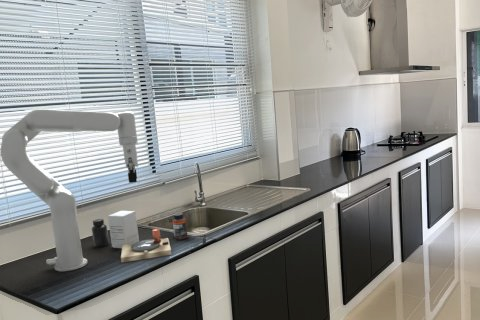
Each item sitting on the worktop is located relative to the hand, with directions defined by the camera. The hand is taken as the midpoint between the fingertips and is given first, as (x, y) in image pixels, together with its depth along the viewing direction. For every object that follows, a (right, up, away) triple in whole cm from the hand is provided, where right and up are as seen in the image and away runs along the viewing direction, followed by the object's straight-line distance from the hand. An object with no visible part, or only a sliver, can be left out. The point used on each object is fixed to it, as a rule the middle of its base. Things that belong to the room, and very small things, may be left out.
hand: (133, 180), depth 191 cm
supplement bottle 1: (-18, -31, +15) cm, 38 cm away
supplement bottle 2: (+19, -27, +14) cm, 36 cm away
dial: (+6, -28, -2) cm, 29 cm away
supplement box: (-6, -30, +11) cm, 33 cm away
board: (+6, -30, -2) cm, 31 cm away
